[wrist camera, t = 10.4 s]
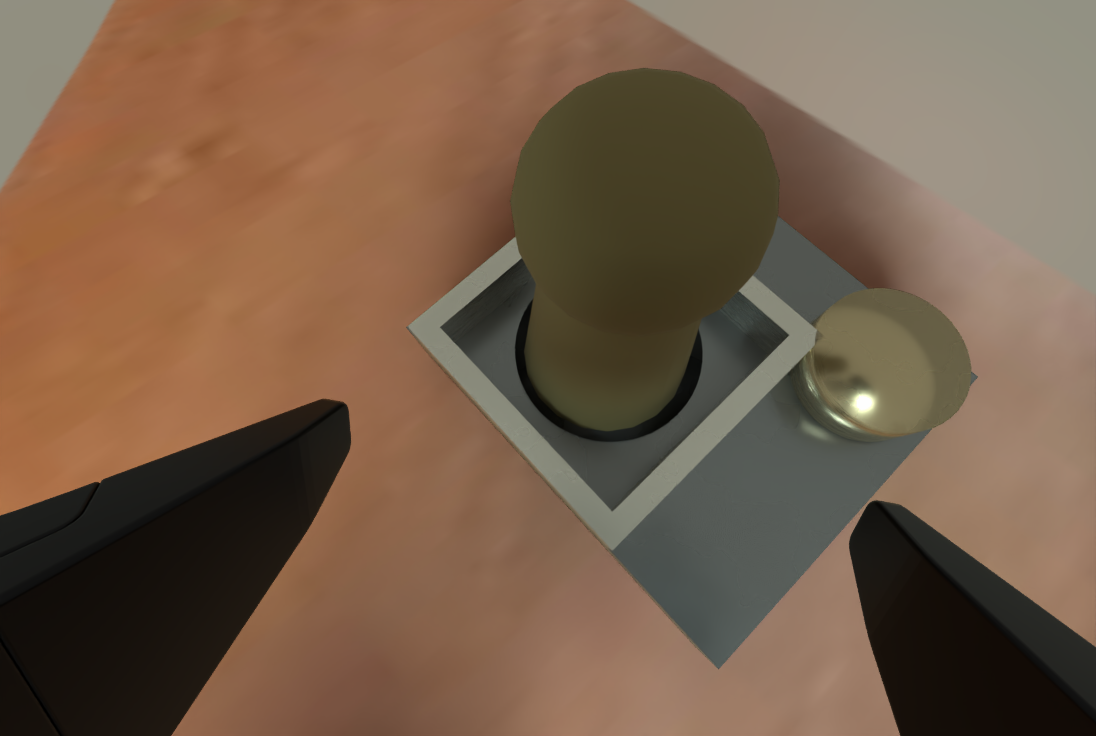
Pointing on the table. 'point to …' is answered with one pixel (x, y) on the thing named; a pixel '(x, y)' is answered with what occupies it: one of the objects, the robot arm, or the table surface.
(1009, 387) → the table surface
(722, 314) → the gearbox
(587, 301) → the olive knobbed post
